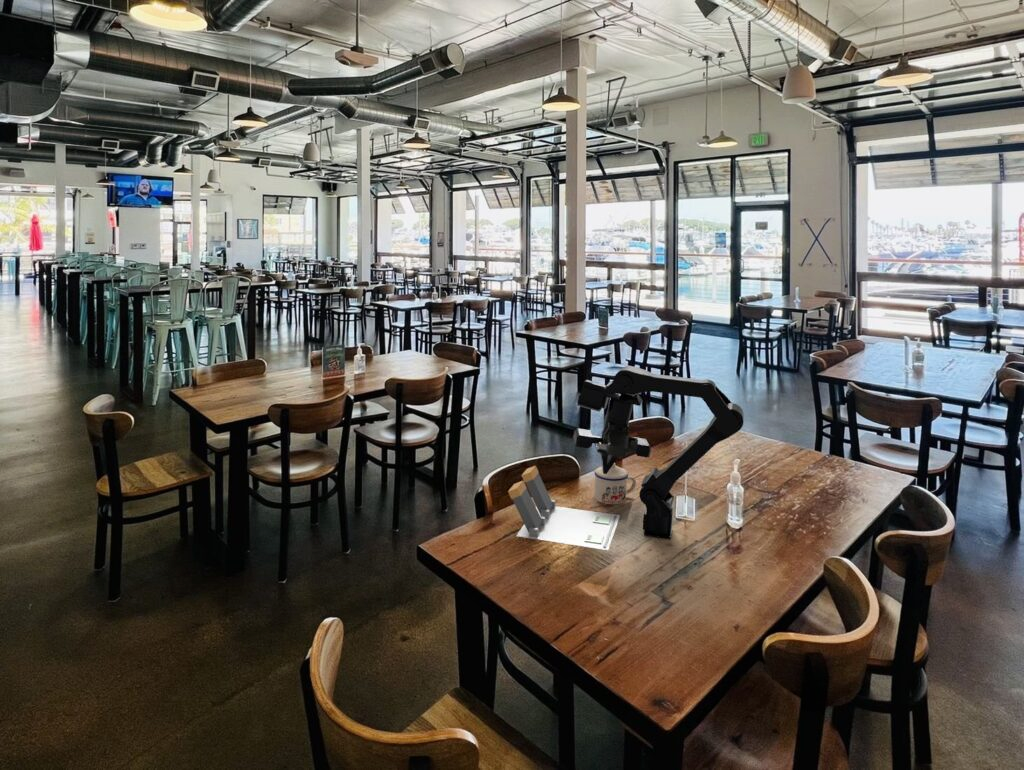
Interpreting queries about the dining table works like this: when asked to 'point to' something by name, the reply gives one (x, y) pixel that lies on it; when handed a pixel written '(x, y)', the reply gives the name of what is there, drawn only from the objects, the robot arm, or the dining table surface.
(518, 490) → the block
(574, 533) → the switch unit
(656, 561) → the dining table surface
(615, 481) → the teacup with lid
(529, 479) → the rocker
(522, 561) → the dining table surface
